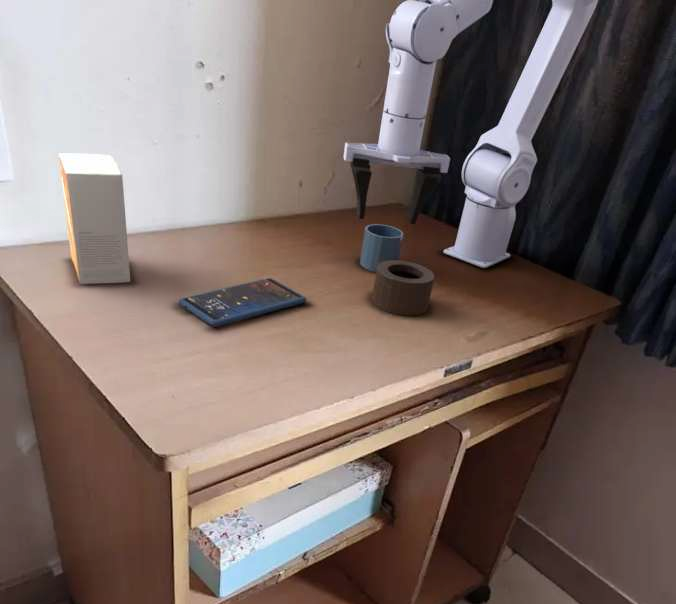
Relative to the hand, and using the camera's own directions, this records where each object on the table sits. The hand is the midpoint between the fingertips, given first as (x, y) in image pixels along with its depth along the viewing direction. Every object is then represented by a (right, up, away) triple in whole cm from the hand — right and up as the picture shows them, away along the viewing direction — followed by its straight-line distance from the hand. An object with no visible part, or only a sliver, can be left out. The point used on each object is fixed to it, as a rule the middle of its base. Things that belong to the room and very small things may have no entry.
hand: (386, 219), depth 97 cm
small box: (-38, -11, -10) cm, 41 cm away
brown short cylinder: (+1, -14, -6) cm, 15 cm away
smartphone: (-19, -16, -12) cm, 28 cm away
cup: (-1, -5, +4) cm, 7 cm away
